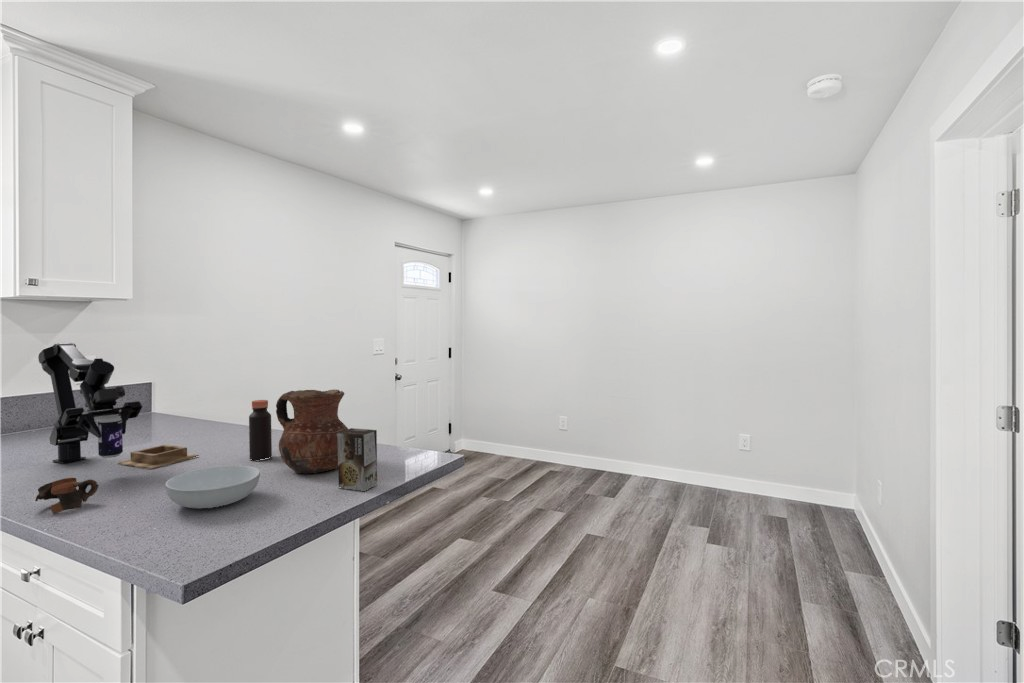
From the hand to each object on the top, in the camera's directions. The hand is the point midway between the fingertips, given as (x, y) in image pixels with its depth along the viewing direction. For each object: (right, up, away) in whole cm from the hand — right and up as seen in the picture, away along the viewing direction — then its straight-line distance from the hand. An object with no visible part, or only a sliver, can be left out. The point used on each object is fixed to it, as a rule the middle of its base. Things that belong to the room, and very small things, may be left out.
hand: (112, 435), depth 146 cm
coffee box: (+77, -13, -8) cm, 78 cm away
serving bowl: (+44, -14, -20) cm, 50 cm away
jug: (+58, -13, +10) cm, 60 cm away
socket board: (+1, -12, +18) cm, 22 cm away
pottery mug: (+8, -14, -23) cm, 28 cm away
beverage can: (-1, -7, +1) cm, 7 cm away
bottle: (+34, -12, +21) cm, 42 cm away
